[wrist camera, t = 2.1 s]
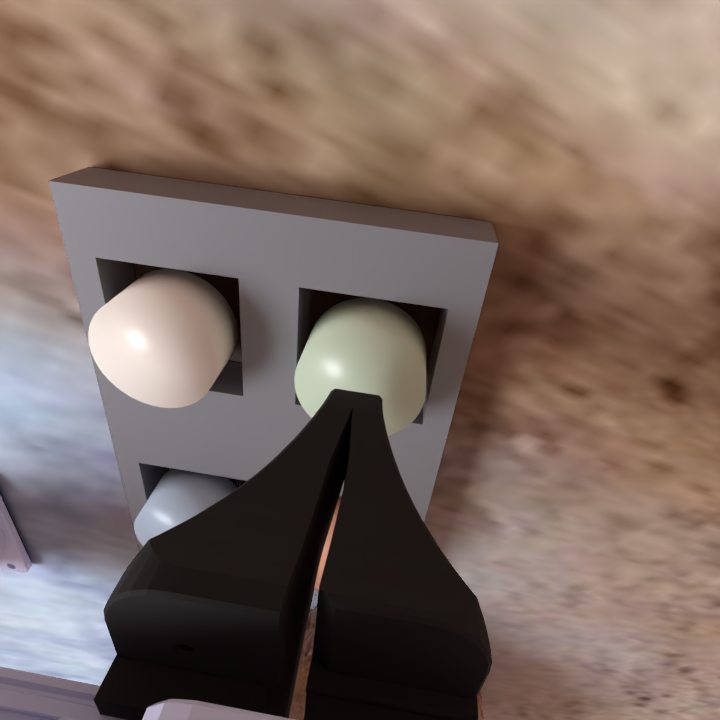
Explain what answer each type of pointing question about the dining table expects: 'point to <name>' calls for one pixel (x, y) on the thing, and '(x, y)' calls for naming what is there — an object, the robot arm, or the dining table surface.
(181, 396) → the cream button
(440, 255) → the button panel
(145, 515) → the blue button
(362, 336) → the sage button
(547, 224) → the dining table surface
